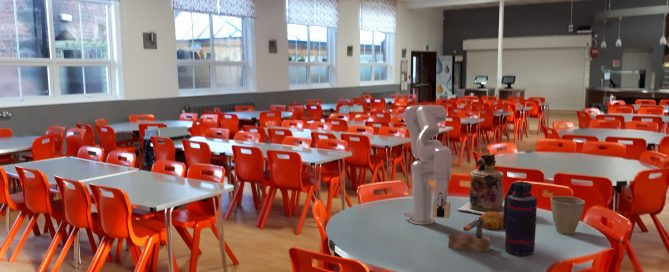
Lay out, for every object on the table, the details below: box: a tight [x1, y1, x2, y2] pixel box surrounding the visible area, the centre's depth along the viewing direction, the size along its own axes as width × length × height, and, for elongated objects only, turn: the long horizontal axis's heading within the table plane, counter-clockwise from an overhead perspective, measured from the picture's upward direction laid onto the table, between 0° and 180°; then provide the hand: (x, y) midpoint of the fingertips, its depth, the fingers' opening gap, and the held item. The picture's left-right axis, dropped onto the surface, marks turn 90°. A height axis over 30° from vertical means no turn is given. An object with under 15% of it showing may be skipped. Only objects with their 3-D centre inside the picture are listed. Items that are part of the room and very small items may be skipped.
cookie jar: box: [457, 152, 505, 215], centre depth 288 cm, size 25×25×32 cm
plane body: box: [448, 224, 491, 253], centre depth 228 cm, size 17×5×11 cm, turn 71°
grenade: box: [502, 180, 538, 257], centre depth 223 cm, size 14×12×30 cm
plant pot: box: [550, 195, 586, 236], centre depth 250 cm, size 15×15×16 cm
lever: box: [462, 217, 483, 232], centre depth 221 cm, size 16×3×2 cm, turn 142°
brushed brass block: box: [432, 200, 451, 219], centre depth 237 cm, size 7×6×6 cm
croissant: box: [478, 211, 504, 230], centre depth 261 cm, size 14×16×8 cm
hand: (441, 214), depth 237 cm, fingers closed on brushed brass block, 6 cm apart
